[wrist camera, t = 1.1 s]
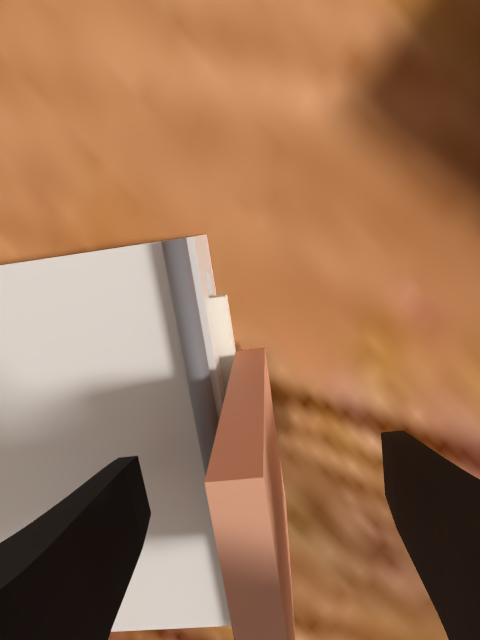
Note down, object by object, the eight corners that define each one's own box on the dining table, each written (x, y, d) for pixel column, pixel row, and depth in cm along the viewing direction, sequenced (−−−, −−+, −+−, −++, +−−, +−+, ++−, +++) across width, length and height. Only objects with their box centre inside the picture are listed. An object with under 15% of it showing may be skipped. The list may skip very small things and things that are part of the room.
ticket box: (206, 234, 13) (188, 237, 10) (260, 566, 17) (259, 644, 14) (-107, 281, 15) (-207, 296, 12) (-1, 582, 18) (-56, 658, 15)
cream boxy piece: (257, 289, 13) (245, 364, 6) (291, 543, 15) (312, 804, 8) (-75, 334, 14) (-398, 438, 7) (3, 563, 16) (-184, 805, 9)
